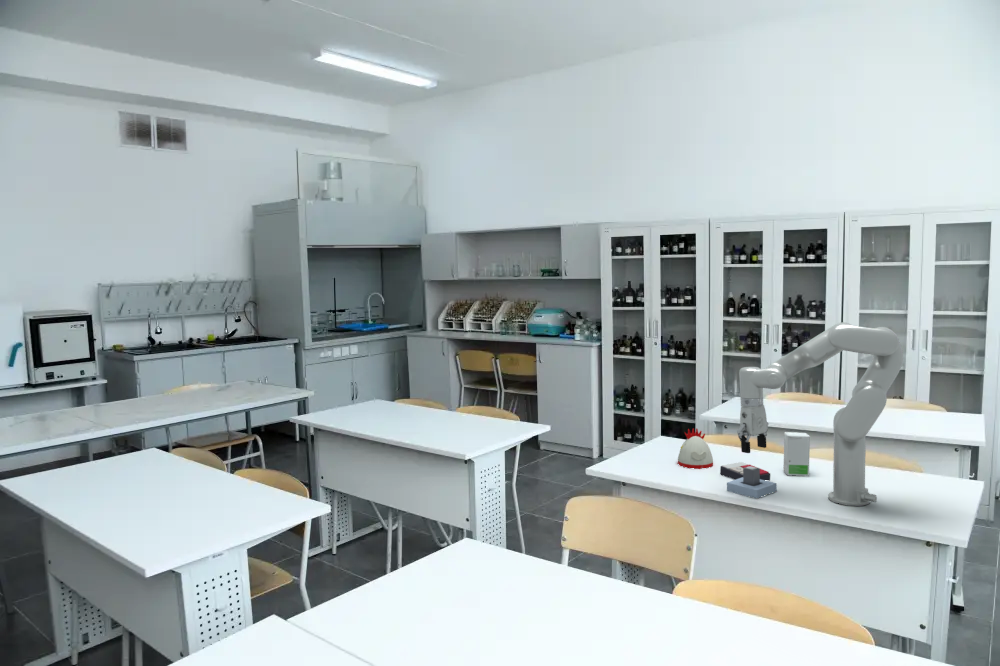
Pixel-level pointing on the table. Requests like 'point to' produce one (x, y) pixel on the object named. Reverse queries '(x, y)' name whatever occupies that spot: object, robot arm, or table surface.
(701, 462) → the kitchen timer
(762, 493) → the outlet plate
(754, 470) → the block
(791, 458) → the skincare box
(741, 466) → the calculator
